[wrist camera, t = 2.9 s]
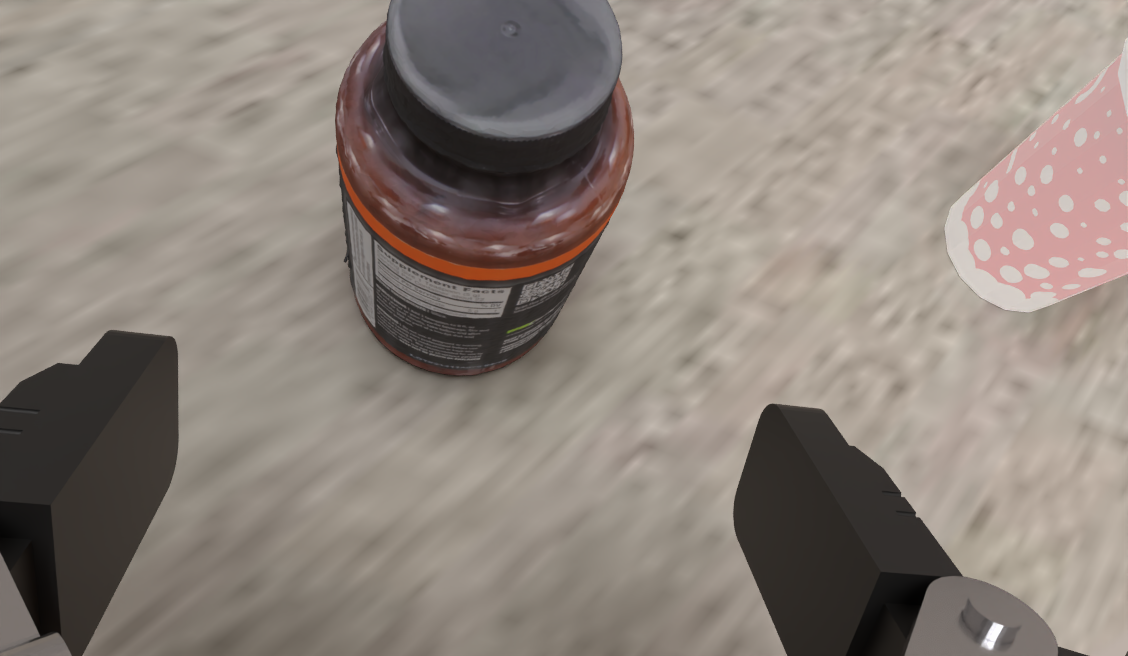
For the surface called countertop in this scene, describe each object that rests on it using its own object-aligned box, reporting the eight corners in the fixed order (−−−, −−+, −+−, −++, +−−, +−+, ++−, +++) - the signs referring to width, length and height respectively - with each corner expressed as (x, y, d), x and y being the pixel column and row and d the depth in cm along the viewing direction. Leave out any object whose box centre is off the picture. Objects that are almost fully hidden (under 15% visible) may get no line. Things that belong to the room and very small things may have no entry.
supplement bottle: (425, 153, 26) (456, -172, 16) (595, 257, 26) (741, 3, 15) (305, 308, 24) (245, 51, 13) (491, 423, 24) (579, 257, 13)
